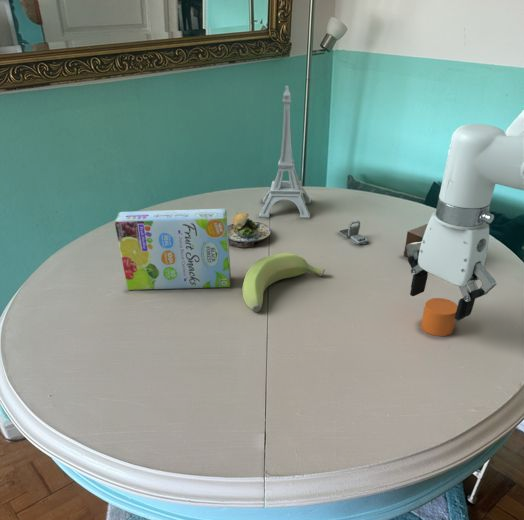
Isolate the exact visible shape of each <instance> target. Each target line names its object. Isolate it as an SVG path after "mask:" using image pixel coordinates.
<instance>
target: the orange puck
mask: <svg viewBox="0 0 524 520" xmlns="http://www.w3.org/2000/svg"><path fill="white" fill-rule="evenodd" d="M457 307H458V304H456V302H454V301H453V300H450V299H447V298H442V297H433V298H430V299H428V300H426V302H425V303H424V307H423V313H422V319H421V323H420V327H421V329H422V330H423V331H424V332H425V333H426V334H429V335H431V336H434V337H435V336H436V337H446V336H449V335H451V334H452V333H453V332H454V330H455V325H456V321H457V320H456V319H455V314H456V311H457Z"/></svg>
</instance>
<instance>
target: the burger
mask: <svg viewBox="0 0 524 520" xmlns="http://www.w3.org/2000/svg"><path fill="white" fill-rule="evenodd" d="M227 227H228V242H229V246H230V245H231V246H232V247H237V248H244V249H245V248H253V247H254V244H255V243H256V242H261V241H263V240H265V239H266V238H268V237H269V236H270V235H271V233H272V229H271V227H269V226H268V225H266V224H265V223H262V222H259V221H257V222H256V221H253V220H252V219H250V218H249V214H248V213H247V212H239V213H237V214H236V215H235V216H234V218H233V221H232V223H231V224H229V225H227Z"/></svg>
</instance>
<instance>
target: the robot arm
mask: <svg viewBox="0 0 524 520" xmlns="http://www.w3.org/2000/svg"><path fill="white" fill-rule="evenodd" d="M496 185H499V186H504V187H507V188H511V189H515V190H519V191H524V109H523V110H522V111H521V112H520V113H519V114H518V115H517V116H516V118H515V119H514V120H513V121H512V122H511V124H510V125H509V126H508V128H507V129H506V130H505V131H504V130H503V129H502V128H500V127H497V126H495V125H490V124H482V123H467V124H464V125H461V126H459V127H457V128H456V129H455V130H454V132H453V133H452V135H451V139H450V143H449V148H448V153H447V158H446V161H445V167H444V171H443V176H442V182H441V186H440V191H439V194H438V199H437V204H436V208H435V211H434V212H433V213H432V214H431V216H430V218H429V220H428V223H427V224H428V225H427V228H426V230H425V233H424V236H423V240H422V242H415V243H411V244H408V245H407V246H406V249H407V254H408V256H409V257H408V258H407V261H408V264H409V266H410V268H411V269H410V273H411V275H412V280H411V286H410V292H409V295H410V296H412V297H415V296H417V295H420V294H422V293H424V292H425V290H426V286H427V281H428V276H429V274H431V275H433V276H434V277H437V278H439V279H441V280H444V281H445V282H447V283H449V284H452V285H454V286H456V287H458V288H459V290H460V293H461V296H462V298H460V299H459V300H458V303H457V306H458V307H457V311H456V314H455V319H456V321H458V322H459V321H461V320H463V319H465V318H467V317H470V315H471V314H472V312H473V308H474V305H475V301H476V299H478V298H480V297H483V296H484V295H486V294H488V293H489V292H490V291H491V290H492V289H493V288H495V287H496V286H497V284H498V283H497V280H496V279H495V278H494V277H493V276H492V275H491V273H490V272H488V270H487V269H486V268H485V265H486V260H487V255H488V251H489V241H490V224H491V223H492V222H493V221H494V219H495V215H494V214H492V213H491V212H490V208H491V205H490V204H491V201H492V198H493V194H494V190H495V188H496ZM417 250H420V251H419V256H418V255H417ZM477 281H480V282H481V286H480V287H479V286H478V284H477Z"/></svg>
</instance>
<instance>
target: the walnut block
mask: <svg viewBox="0 0 524 520" xmlns="http://www.w3.org/2000/svg"><path fill="white" fill-rule="evenodd" d="M427 225H428V223H426V224H422V225H420V226H418V227H415V228H412V229H410V230H408V231H406V232H407V233H406V238H405V245H404V251H403V257H404V258H407V259H408V257H409V256H408V254H407V249H406V246H407V245H408V244H411V243H415V242H422V240H423V236H424V233H425V230H426V228H427ZM419 251H420V250H417V255H418V256H419Z"/></svg>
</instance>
